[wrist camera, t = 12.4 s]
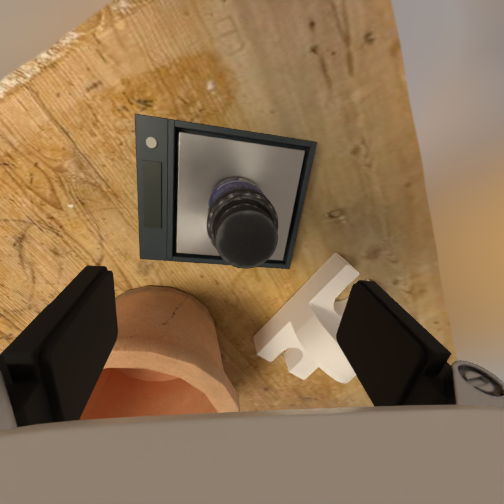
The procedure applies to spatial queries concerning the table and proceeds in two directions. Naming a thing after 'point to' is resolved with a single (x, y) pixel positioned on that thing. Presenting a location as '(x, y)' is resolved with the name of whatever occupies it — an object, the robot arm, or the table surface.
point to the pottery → (162, 360)
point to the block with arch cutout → (311, 325)
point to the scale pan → (225, 166)
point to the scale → (166, 185)
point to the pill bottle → (242, 223)
